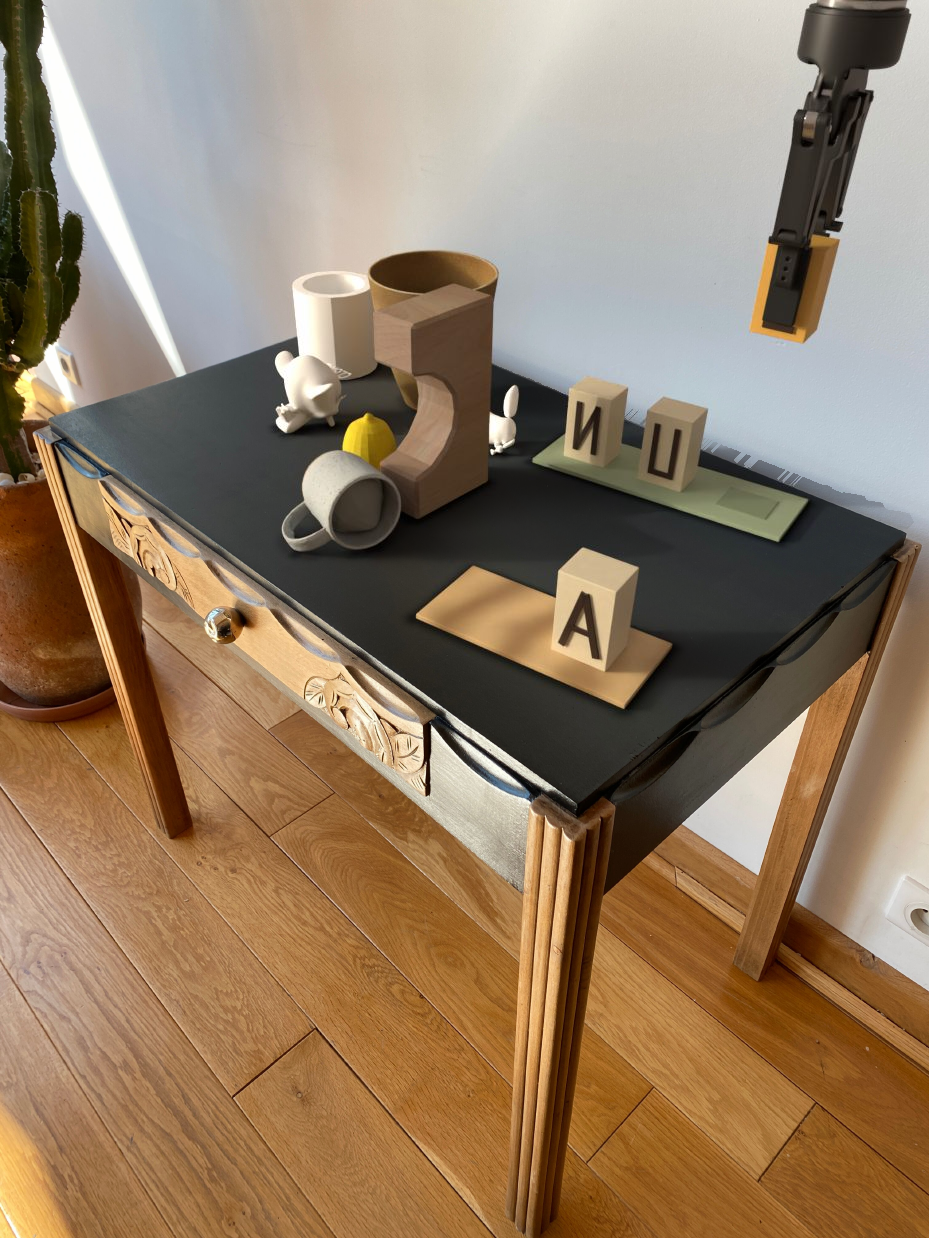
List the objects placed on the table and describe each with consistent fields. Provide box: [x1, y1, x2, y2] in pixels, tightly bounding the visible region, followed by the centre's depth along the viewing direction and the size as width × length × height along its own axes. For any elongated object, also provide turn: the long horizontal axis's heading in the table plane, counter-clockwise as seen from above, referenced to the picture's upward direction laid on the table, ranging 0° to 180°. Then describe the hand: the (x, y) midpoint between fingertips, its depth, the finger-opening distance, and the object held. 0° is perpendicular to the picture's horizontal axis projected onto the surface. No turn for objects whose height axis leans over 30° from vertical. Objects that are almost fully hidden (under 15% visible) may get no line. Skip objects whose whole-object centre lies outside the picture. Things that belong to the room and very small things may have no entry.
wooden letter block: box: [564, 375, 629, 468], centre depth 100 cm, size 5×4×8 cm
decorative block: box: [373, 284, 495, 520], centre depth 91 cm, size 11×6×20 cm, turn 136°
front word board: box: [415, 565, 673, 710], centre depth 79 cm, size 20×9×1 cm, turn 56°
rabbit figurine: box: [489, 384, 520, 456], centre depth 105 cm, size 6×4×8 cm
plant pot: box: [366, 249, 500, 411], centre depth 110 cm, size 15×15×16 cm
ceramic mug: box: [281, 449, 402, 552], centre depth 88 cm, size 11×8×8 cm
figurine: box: [274, 350, 351, 434], centre depth 107 cm, size 12×8×10 cm
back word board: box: [532, 432, 809, 543], centre depth 99 cm, size 28×9×1 cm, turn 56°
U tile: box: [637, 396, 709, 492], centre depth 97 cm, size 5×4×8 cm
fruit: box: [342, 411, 397, 471], centre depth 96 cm, size 6×6×8 cm
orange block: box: [749, 235, 841, 345], centre depth 81 cm, size 5×4×8 cm
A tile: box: [551, 547, 640, 672], centre depth 74 cm, size 5×4×8 cm
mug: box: [291, 270, 378, 381], centre depth 121 cm, size 14×10×11 cm
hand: (787, 313), depth 83 cm, fingers closed on orange block, 4 cm apart
